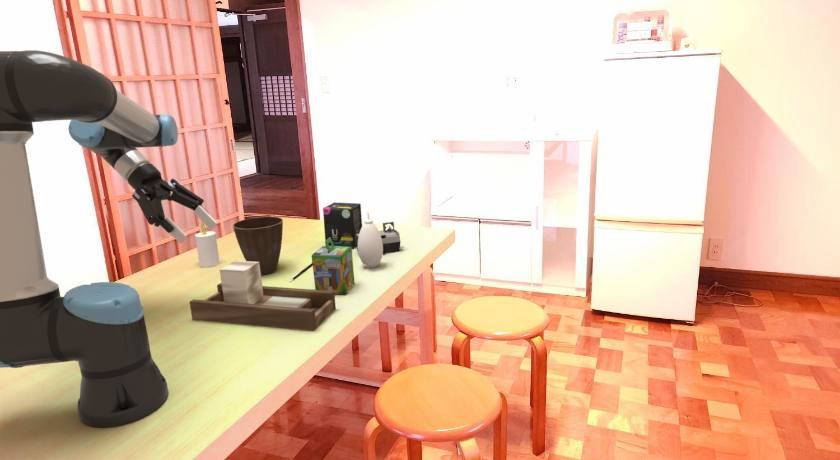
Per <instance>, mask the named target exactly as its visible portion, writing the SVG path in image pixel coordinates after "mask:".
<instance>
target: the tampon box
mask: <svg viewBox="0 0 840 460" xmlns="http://www.w3.org/2000/svg"><path fill="white" fill-rule="evenodd" d="M322 213H323V214H322V215H323V225H324V226H323V227H324V229H323V230H324V242H325V241H326V240H327V239H328V238H329V237H331V239H332V242H333V244H334V246H342V247H352V250H354V249H355V248H357V246H356V234H359V233H360V230H361V228H362V226H363V220H362V219H363V218H362V205H361V203H356V202H355V203H353V202H333V203H331V204H328V205H326V206H324V207H322ZM328 246H331V243H330V242H329V243H328Z"/></svg>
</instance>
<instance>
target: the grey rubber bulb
mask: <svg viewBox="0 0 840 460" xmlns="http://www.w3.org/2000/svg"><path fill="white" fill-rule="evenodd" d="M363 222H364V223H362V228H361V230H360V233H359V237H358V251H357V253H358V257H359V259H360V261H361V263H362V264H363V265H365V266H366V268H370V269H374V268H375V267H377V266H378V265H379V263H381V261H382V258H383V255H384V254H383V243H382V239H381V236H380V233H379V231H380V230H379V229H378V227H377V225H376V224H375V223H374V221H373V219H370V215H369V212H367V219H365V220H364V221H363Z"/></svg>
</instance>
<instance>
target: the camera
mask: <svg viewBox="0 0 840 460" xmlns="http://www.w3.org/2000/svg"><path fill="white" fill-rule="evenodd" d="M394 222H395V221H388V222H382V230H378V231H379V233H380V236H381V239H382V243H383V255H385V254H392V253H400V252H401V241H402V240H401V236H400V231H399V230H397V229H395V223H394ZM386 225H389V226H388V228H387V227H386ZM391 226H392V227H391ZM358 237H359V234H356V250H357V252H358Z"/></svg>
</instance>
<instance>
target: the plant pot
mask: <svg viewBox="0 0 840 460" xmlns="http://www.w3.org/2000/svg"><path fill="white" fill-rule="evenodd" d="M283 220H284V219H283V218H281V217H279V216H278V217H277V216H258V217H251V218H246V219H242V220H239V221H236V222H234V223H233V225H232V228H233V231H234V234H235V238H236V240H237V244H238V245H239V249H240V252H241V253H242V256H243V258H244V261H252V262H259V264H260V272H261V276H262V275H269V274H272V273H274V272H276V271H277V270H278V266H279V261H280V256H281V249H282V242H283V228H284V227H283V225H284V224H283V223H284V221H283Z"/></svg>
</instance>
